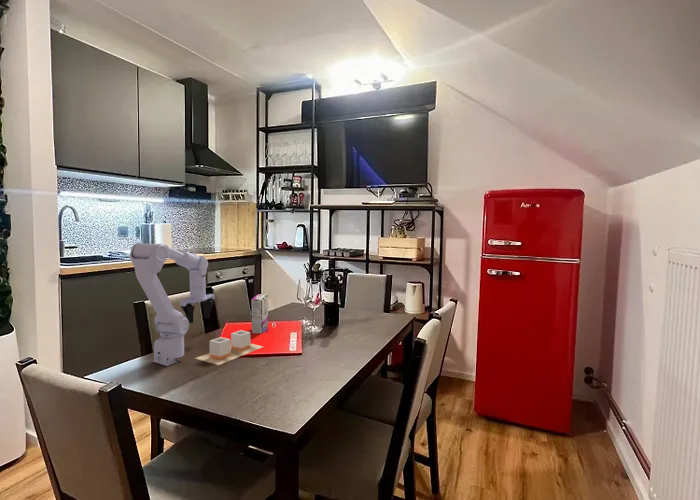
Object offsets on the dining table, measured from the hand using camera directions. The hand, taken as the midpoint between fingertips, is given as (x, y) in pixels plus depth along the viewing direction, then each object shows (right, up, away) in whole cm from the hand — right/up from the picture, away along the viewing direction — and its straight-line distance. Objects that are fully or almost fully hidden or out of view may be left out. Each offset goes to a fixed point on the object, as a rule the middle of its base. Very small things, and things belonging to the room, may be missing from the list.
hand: (198, 320), depth 151 cm
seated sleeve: (+18, -10, -6) cm, 21 cm away
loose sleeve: (+13, -10, -14) cm, 22 cm away
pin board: (+16, -11, -10) cm, 22 cm away
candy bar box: (+20, -9, +19) cm, 29 cm away
